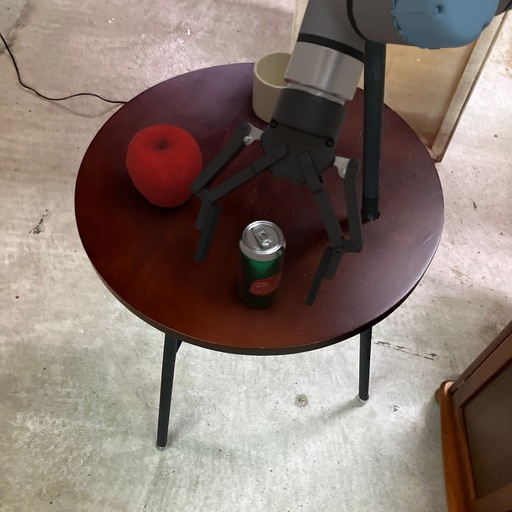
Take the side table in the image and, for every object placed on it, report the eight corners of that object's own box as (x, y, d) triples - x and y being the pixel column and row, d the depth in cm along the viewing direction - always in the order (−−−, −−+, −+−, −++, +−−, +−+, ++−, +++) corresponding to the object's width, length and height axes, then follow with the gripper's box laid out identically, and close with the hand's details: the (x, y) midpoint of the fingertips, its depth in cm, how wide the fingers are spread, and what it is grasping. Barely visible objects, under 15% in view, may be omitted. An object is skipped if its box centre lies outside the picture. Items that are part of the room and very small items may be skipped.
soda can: (251, 317, 66) (254, 264, 56) (230, 285, 68) (230, 229, 58) (286, 298, 68) (296, 244, 57) (265, 268, 70) (271, 210, 60)
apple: (214, 211, 74) (212, 155, 65) (145, 231, 72) (132, 176, 63) (191, 159, 79) (186, 101, 70) (126, 176, 77) (112, 118, 68)
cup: (305, 90, 88) (310, 52, 82) (304, 126, 84) (310, 89, 78) (254, 86, 88) (255, 49, 82) (251, 122, 84) (252, 86, 78)
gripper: (430, 134, 59) (360, 312, 64) (219, 67, 63) (169, 238, 69) (434, 130, 52) (355, 331, 57) (196, 55, 56) (142, 246, 61)
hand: (253, 280), depth 63 cm, fingers open, 13 cm apart
